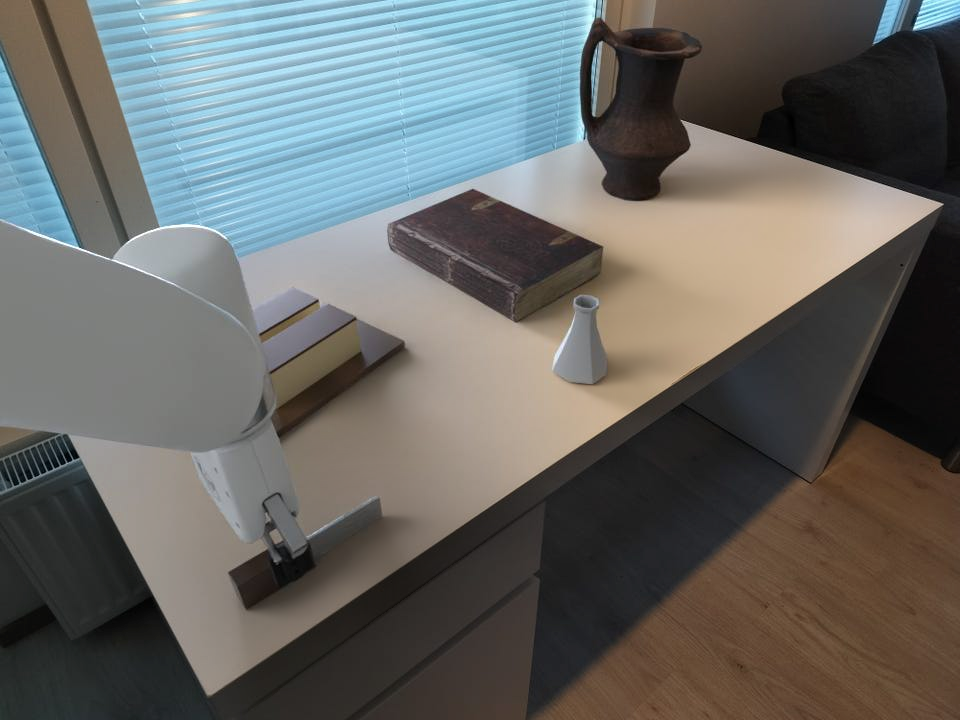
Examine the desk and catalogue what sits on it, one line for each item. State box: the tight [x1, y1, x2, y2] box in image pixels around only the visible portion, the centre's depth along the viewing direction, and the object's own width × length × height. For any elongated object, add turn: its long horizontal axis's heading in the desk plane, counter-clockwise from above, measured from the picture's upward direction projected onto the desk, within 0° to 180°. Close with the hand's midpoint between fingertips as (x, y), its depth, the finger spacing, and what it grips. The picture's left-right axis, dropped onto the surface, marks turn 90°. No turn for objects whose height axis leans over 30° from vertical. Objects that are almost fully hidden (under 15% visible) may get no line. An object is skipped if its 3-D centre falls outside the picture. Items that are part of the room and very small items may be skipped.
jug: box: [579, 16, 703, 201], centre depth 122 cm, size 21×18×30 cm
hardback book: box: [386, 188, 604, 323], centre depth 107 cm, size 29×19×5 cm, turn 43°
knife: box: [227, 494, 383, 611], centre depth 64 cm, size 15×2×4 cm, turn 130°
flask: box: [551, 294, 608, 385], centre depth 84 cm, size 7×7×10 cm
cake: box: [252, 286, 361, 409], centre depth 86 cm, size 14×12×5 cm
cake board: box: [270, 300, 406, 439], centre depth 88 cm, size 24×18×1 cm
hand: (268, 539), depth 60 cm, fingers open, 9 cm apart
